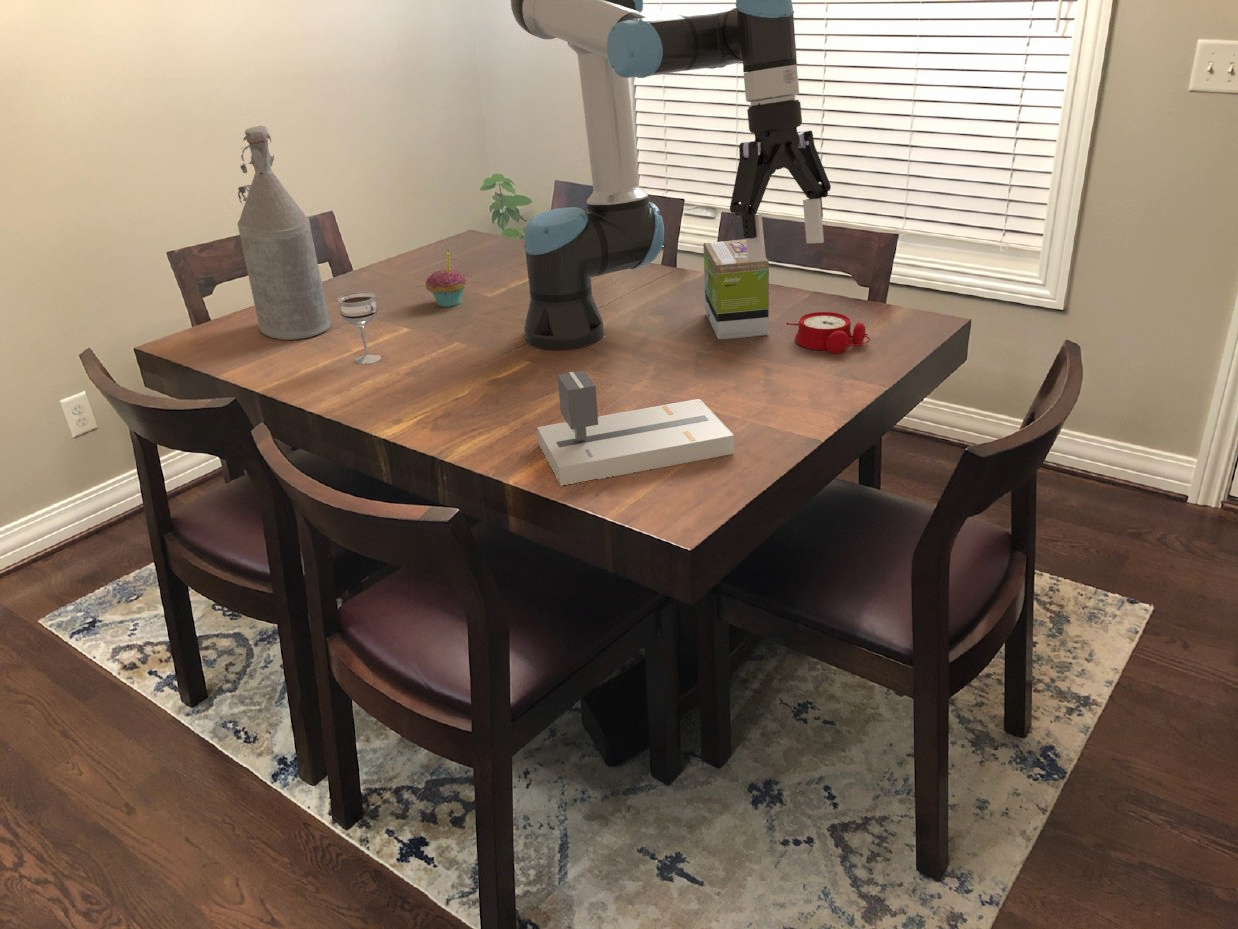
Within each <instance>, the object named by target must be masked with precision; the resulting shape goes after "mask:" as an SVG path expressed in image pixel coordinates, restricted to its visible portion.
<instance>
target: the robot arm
mask: <svg viewBox="0 0 1238 929" xmlns="http://www.w3.org/2000/svg"><path fill="white" fill-rule="evenodd" d="M510 7H511V8H510V9H511V11H512V12H511V13H512V15H513V16H514V20H515V21H516V22H517V24H518V25H519V26H520V27H521V29H523V30H524V31H525V32H527V33H528V34H530V35H532V36H533V37H537V38H539V39H542V40H554V39H556V38H557V39H559V40H562V41H564V42H566V43H567V45H568V47H569V48H570V49H571V50H572V51H573V52H575V53H576V55H577V60H578V68H579V69H578V70H579V77H580V78H579V80H580V87H581V96H582V103H583V111H584V112H583V113H584V121H585V129H586V139H587V147H588V156H589V163H590V172H591V174H590V175H591V182H592V189H593V190H592V193H591V194H590V196H589V197H588V198H587V199H586V208H587V213H586V211H585V210H584V209H583V208H580V207H576V206H568V207H567V206H566V207H563V208H560V207H558V208H553V209H549V210H546V211H543V212H540V213H538V214H536V215H535V216H533V217H531V218H530V219H529V220H528V222H527V223H526V224H525V226H524V246H523V248H524V251H525V258H526V269H527V277H528V285H529V286H528V287H529V296H530V300H529V307H528V309H527V314H526V317H525V318H526V319H525V323H524V328H523V329H524V330H523V331H524V339H525V342H526V343H527V344H528V345H530V346H533V347H534V348H537V349H542V350H543V349H544V350H557V351H558V350H573V349H578V348H582V347H586V346H589V345H592V344H594V343H596V342H598V341H600V340H601V339H602V338H603V337H604V334H605V332H604V322H603V318H602V316H601V314H600V311H599V309H598V306H597V304H596V300H595V298H594V296H593V290H592V289H593V288H592V278H594V277H599V276H603V275H607V274H611V273H615V272H616V273H617V272H620V271H625V270H634V269H638V268H639V267H640V266H644V265H648V264H651V263H652V262H653V261H655V260H656V259H657V258H658V255H659V254H660V253H661V252H662V251H661V250H662V247H663V245H664V244H663V243H664V240H665V237H664V236H665V226H664V220H663V216H662V215H660V213H661V211H660V209H659V207H658V206H657V205H656V204H655V203H653V202H652V201H650V200H649V194H648V193H647V192H646V191H645V190H644V189H642V188H641V186H640V182H639V173H638V164H637V163H638V162H637V153H636V152H637V151H636V142H635V131H634V124H633V123H634V122H633V113H632V111H633V110H632V103H631V102H632V101H631V92H630V82H629V78H636V79H637V78H638V79H644V78H647V77H650V76H659V75H664V74H665V75H666V74H671V73H677V72H679V73H680V72H686V71H687V72H688V71H693V70H702V69H703V70H704V69H711V70H712V69H718V68H719V69H721V68H725V67H727V66H730V65H731V66H732V65H735V64H738V63H742V66H743V68H742V70H743V72H742V73H743V82H744V93H745V101H746V102H747V103H750V106H748V109H747V110H746V112H747V120H748V131H749V133H751V134H754V137H755V138H754V140H753V141H743V142H740V143H739V145H738V149H739V151H738V152H739V153H738V154H739V156H738V157H739V161H738V164H737V165H738V166H737V169H736V170H737V171H736V176H735V180H734V186H733V191H732V194H731V201H730V205H729V211H730V213H731V214H735V216H736V217H737V216H738V217H739V216H740V217H741V220H742V221H741V223H742V228H743V229H742V231H743V237H744V239H746V243H747V253H748V261H764V260H766V258H767V255H766V254H767V253H766V247H765V244H766V243H765V238H764V236H765V235H764V227H763V217H762V216H763V215H762V213H758V210H759V208H760V205H761V203H762V200H763V198H764V195H765V192H766V190H767V187H768V185H769V183H770V179H771V177H772V176H773V174H775V172H776V171H778V170H782V169H786V170H787V171H788V172H789V173H790V175H791V176H792V178H793V179H794V180H795V182H796V184H797V185H798V186H799V188H800V189H801V190H802V192H803V193H804V195H805V197H806V198H807V199H806V198H805V199H803V200H802V203H803V204H802V205H803V216H804V218H803V219H804V229H805V239H806V240H805V241H806V244H823V243H824V242H825V240H824V239H825V238H824V226H823V217H824V214H823V212H824V211H823V201H822V200H823V199H822V198H826V197H828V196H829V191H831V187H832V186H831V182H830V180H829V178H828V175H827V173H826V171H825V168H824V165H823V163H822V161H821V158H820V156H819V153H818V151H817V148H816V146H815V139H814V133H813V131H812V130H809V129H808V130H802V131H798V127H800V126H801V125H802V123H803V116H802V107H801V105H802V104H801V101H800V100H799V99H796V96H797V95H799V94H800V87H799V86H800V85H799V75H798V65H797V64H798V60H797V46H796V45H797V44H796V34H795V33H796V32H795V20H794V19H795V18H794V14H795V9H794V8H793V1H792V0H735V6H733V7H730V8H725V9H722V10H715V11H714V10H713V11H705V12H695V13H688V14H677V15H670V16H669V15H666V16H652V15H648V14H645V13H642V12H643V10H644V0H510Z"/></svg>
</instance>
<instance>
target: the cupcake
mask: <svg viewBox="0 0 1238 929" xmlns="http://www.w3.org/2000/svg"><path fill="white" fill-rule="evenodd" d="M466 286H467V278H466V277H465V275H464V274H462V273H461V272H459V271H457V270H456V269H451V253H450V249H449V248H448V249H447V252H446V269H444V270H443V269H441V270H438V271H435V272H432V274H430V275H429V276H428V277H427V279H426V281H425V289H426V290H427V291H428V292H431V293H432V295H433V296H434V298H435V300H436V303H437V305H438V306H440V307H444V308H447V307H449V308H451V307H455V306H457V305H460V304H461V302H462V296H463V292H464V289H465V288H466Z"/></svg>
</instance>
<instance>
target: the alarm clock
mask: <svg viewBox="0 0 1238 929" xmlns="http://www.w3.org/2000/svg"><path fill="white" fill-rule="evenodd" d="M788 325H790V326H798V330H797V333H796V334H795V336H794V341H795V343H796V344H797V345H799V346H800V347H803V348H805V349H809V350H815V351H828V352H829V353H830V354H833V355H835V354H836V355H839V354H842V353H843V352H845V351H846V350H847V348H848V347H849V346H851V347H858V346H862V345H865V344H868V343H869V342H870V341H871V338H870V337H869V336H868V333H866V326H865V324H864V323H863V322H856V323H855V325H854V327H853V331H852V332H851V325H852V322H851V319H850V318H849V317H848V316H846V315H845V314H842V313H837V312H831V311H820V312H819V311H817V312H811V313H810V312H809V313H807V314H804V315H803V316H801V317H800V319H799V321H798V323H789V322H786V326H788ZM865 339H868V340H867V341H865V342H864V340H865Z"/></svg>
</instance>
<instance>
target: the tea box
mask: <svg viewBox="0 0 1238 929" xmlns="http://www.w3.org/2000/svg"><path fill="white" fill-rule="evenodd" d="M769 264H770V263H769V260H768V258H767V257H766V260H764V261H748V253H747V243H746V239H745V238H744V239H733V240H726V241H725V240H724V241H714V242H713V241H712V242H703V272H704V273H703V276H704V302H705V303H704V304H705V308H704V309H705V314H706V317H707V319H708V322H709V324H710V325H711V327H712V330H713V332H714V334H715V336H716V338H717V339H718V340H730V339H731V340H732V339H743V338H751V337H752V338H753V337H762V336H768V335H769V325H770V318H769V316H770V315H769V310H770V309H769V305H770V304H769V303H770V299H769V298H770V296H769V295H770V294H769V292H770V286H769V285H770V284H769V283H770V282H769V281H770V280H769V278H770V266H769Z"/></svg>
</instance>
